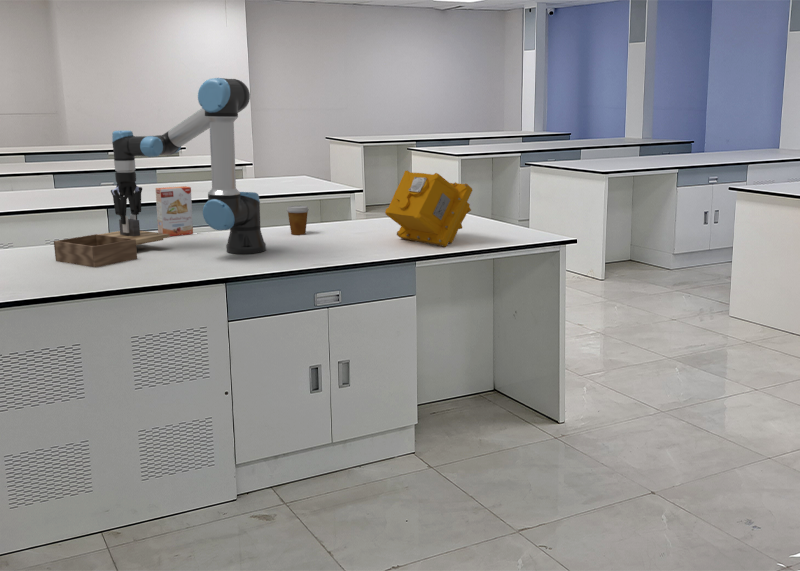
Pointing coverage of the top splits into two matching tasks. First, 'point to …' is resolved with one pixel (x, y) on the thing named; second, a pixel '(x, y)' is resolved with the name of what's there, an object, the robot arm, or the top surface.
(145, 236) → the lid
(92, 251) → the storage box
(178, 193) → the cracker box
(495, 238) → the top surface
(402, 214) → the control box
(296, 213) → the disposable coffee cup
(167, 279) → the top surface
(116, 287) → the top surface
